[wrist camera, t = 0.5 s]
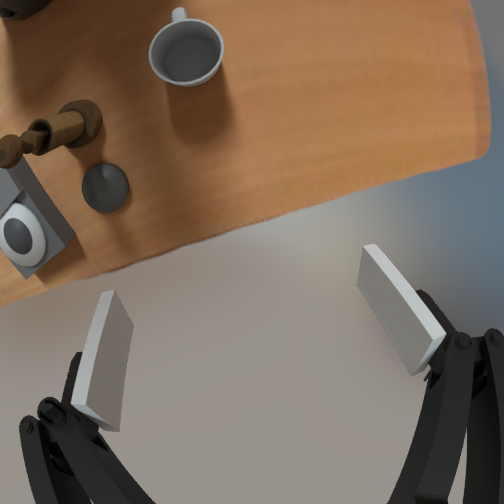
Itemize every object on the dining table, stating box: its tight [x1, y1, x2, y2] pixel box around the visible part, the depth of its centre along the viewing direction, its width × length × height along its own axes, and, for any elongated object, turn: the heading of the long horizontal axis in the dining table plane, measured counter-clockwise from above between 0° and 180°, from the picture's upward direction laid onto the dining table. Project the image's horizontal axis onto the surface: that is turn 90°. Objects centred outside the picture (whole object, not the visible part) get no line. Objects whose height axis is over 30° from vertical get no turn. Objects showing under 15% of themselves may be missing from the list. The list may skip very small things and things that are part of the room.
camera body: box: [0, 155, 75, 280], centre depth 32 cm, size 16×13×5 cm
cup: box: [149, 7, 224, 87], centre depth 23 cm, size 7×10×9 cm
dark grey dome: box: [82, 163, 129, 212], centre depth 34 cm, size 7×7×1 cm
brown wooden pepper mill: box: [0, 100, 102, 169], centre depth 21 cm, size 7×6×18 cm
